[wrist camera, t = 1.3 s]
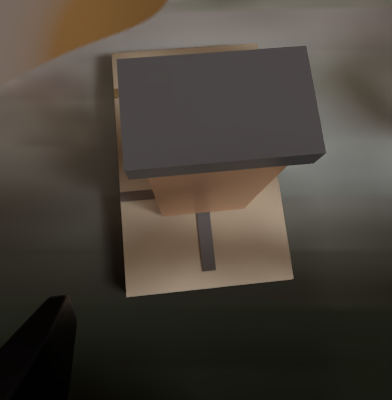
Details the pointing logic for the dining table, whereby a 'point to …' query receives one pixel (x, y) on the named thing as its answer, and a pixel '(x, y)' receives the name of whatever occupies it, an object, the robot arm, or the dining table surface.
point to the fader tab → (216, 124)
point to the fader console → (197, 228)
